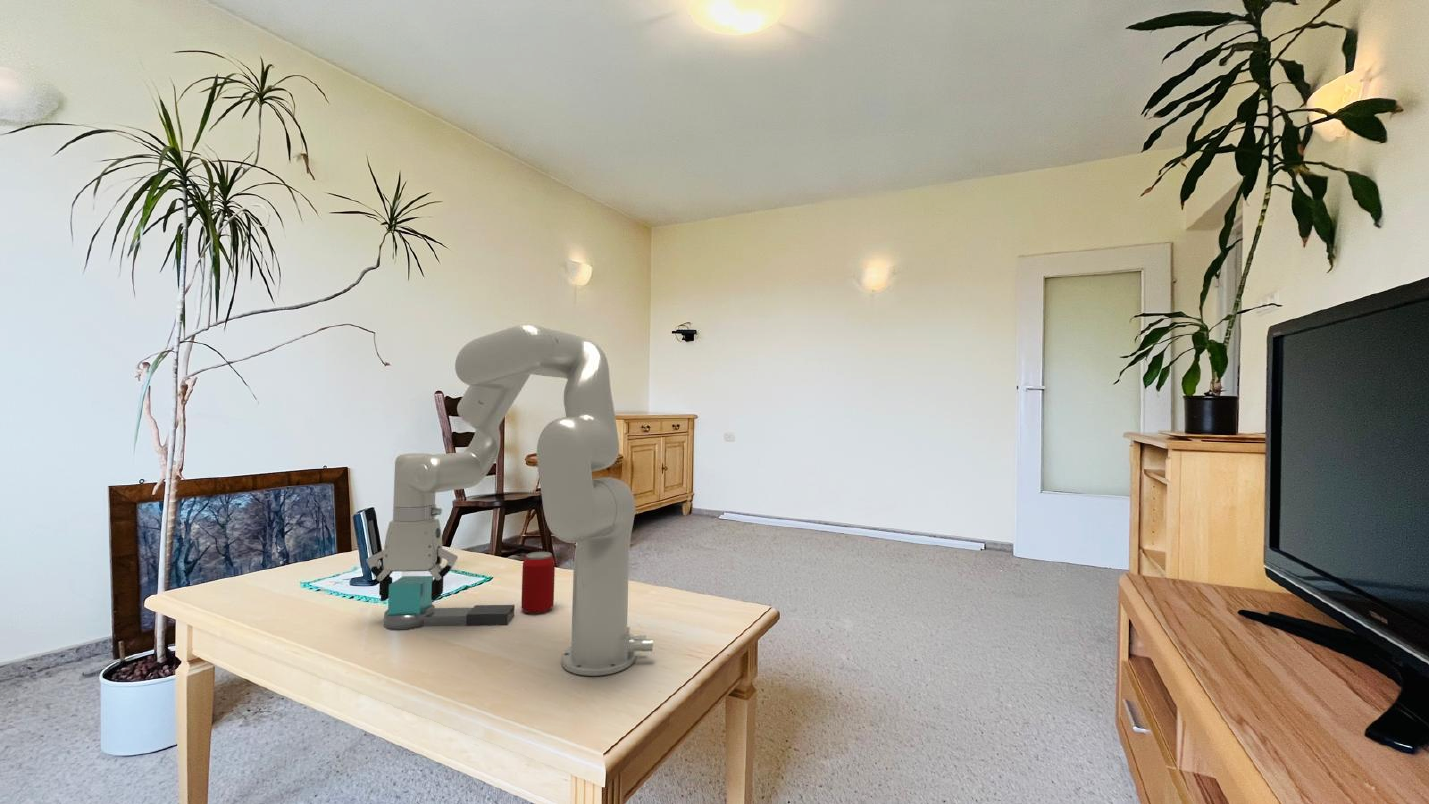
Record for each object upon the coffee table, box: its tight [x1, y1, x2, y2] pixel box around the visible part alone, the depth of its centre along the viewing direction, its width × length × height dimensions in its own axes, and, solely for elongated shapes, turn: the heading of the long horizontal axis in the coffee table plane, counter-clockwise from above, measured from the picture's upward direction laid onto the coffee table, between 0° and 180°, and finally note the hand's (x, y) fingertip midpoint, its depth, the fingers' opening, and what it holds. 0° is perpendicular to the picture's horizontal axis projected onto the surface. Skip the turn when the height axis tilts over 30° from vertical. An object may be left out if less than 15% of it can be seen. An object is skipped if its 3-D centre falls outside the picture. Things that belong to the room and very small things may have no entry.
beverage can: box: [521, 551, 556, 615], centre depth 120 cm, size 7×7×12 cm
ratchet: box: [383, 603, 516, 632], centre depth 112 cm, size 24×9×6 cm, turn 96°
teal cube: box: [387, 575, 434, 616], centre depth 111 cm, size 6×6×6 cm
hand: (411, 598), depth 111 cm, fingers open, 9 cm apart
